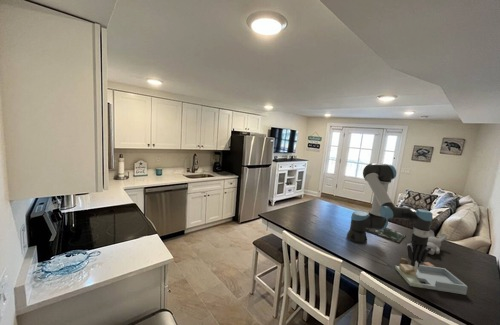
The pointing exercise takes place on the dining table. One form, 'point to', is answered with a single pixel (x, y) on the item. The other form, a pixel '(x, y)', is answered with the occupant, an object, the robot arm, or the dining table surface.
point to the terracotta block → (428, 264)
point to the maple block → (407, 269)
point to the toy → (435, 242)
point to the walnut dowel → (403, 261)
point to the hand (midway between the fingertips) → (413, 270)
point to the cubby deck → (434, 279)
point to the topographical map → (388, 234)
